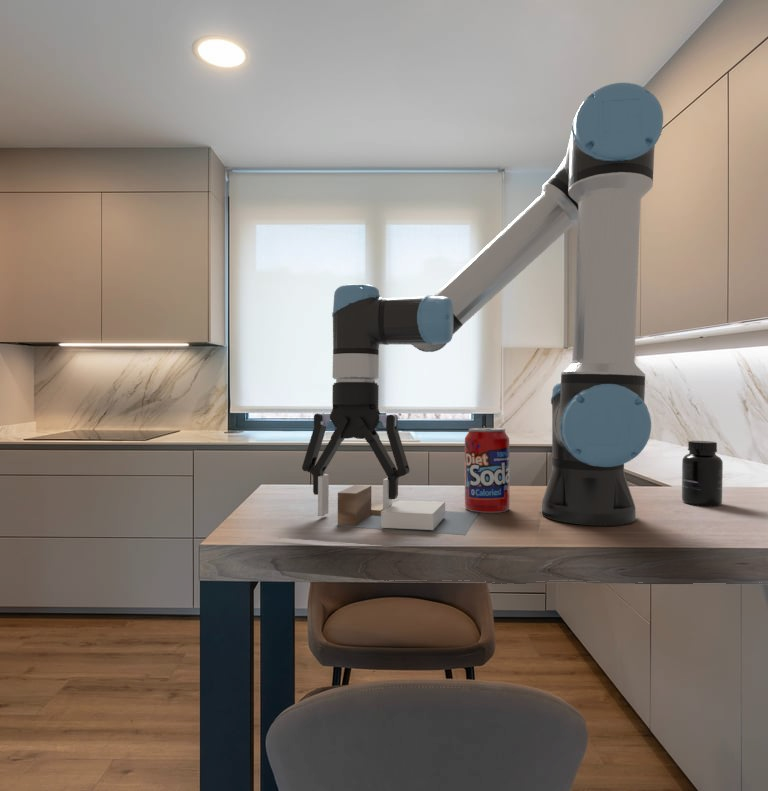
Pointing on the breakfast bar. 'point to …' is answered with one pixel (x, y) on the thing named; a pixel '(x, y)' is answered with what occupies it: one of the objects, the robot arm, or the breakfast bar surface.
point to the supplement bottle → (702, 474)
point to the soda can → (487, 470)
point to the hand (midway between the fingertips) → (354, 516)
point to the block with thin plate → (356, 505)
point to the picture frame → (413, 515)
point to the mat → (448, 525)
